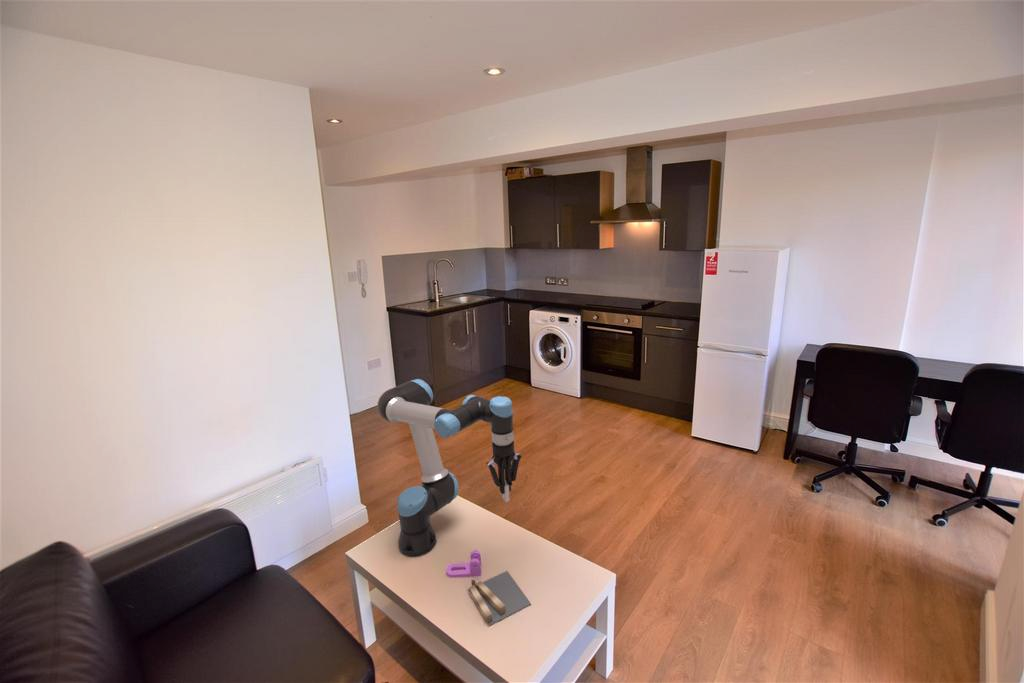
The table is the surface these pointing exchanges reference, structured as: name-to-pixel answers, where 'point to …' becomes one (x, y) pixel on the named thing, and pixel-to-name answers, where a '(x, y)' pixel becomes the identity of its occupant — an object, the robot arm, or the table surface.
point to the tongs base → (480, 602)
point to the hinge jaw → (490, 597)
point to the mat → (505, 596)
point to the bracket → (466, 567)
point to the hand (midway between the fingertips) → (505, 499)
